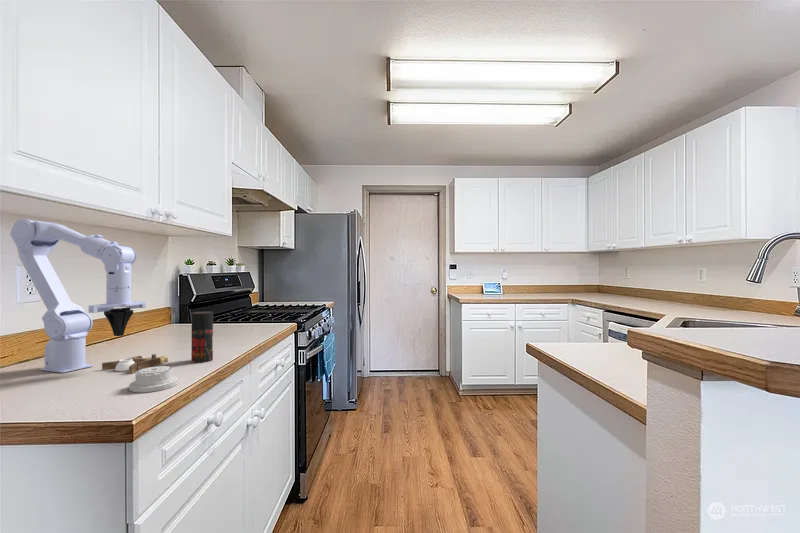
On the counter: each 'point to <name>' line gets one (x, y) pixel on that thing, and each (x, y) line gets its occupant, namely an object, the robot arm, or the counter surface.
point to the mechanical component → (153, 379)
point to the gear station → (138, 363)
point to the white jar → (124, 364)
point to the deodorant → (202, 337)
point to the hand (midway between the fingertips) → (118, 335)
